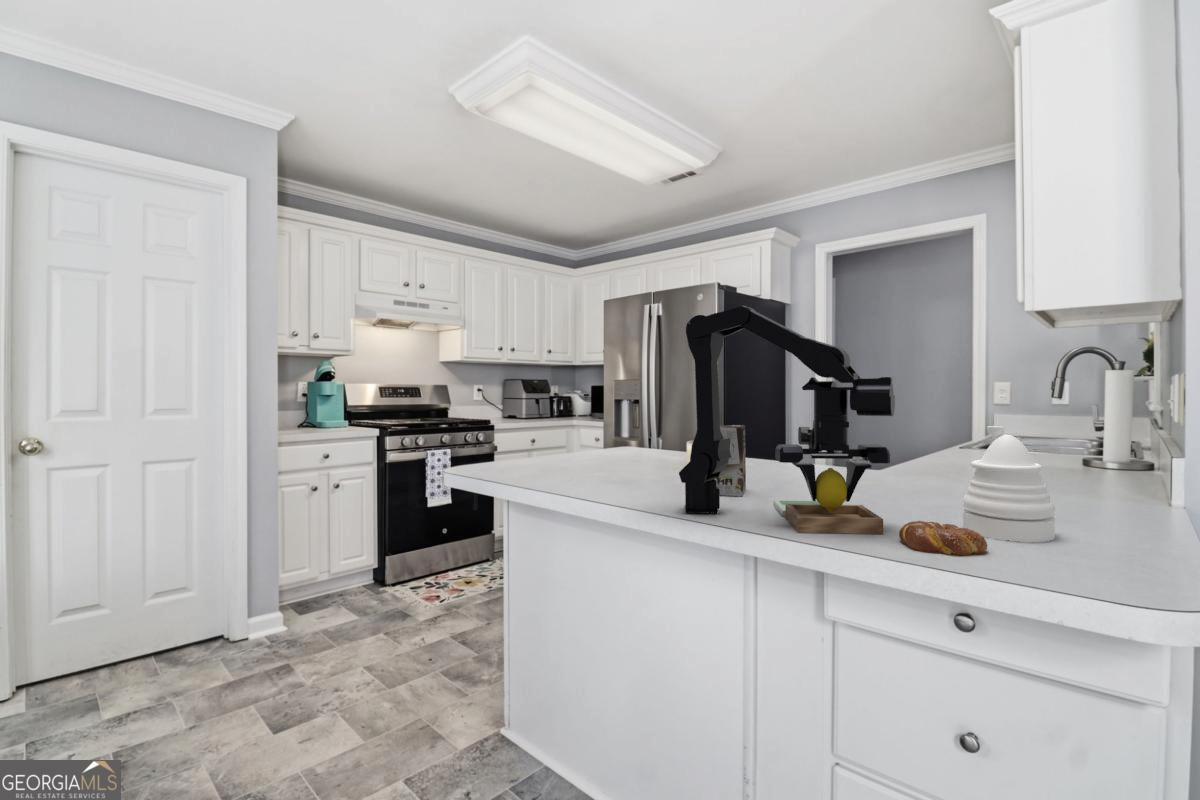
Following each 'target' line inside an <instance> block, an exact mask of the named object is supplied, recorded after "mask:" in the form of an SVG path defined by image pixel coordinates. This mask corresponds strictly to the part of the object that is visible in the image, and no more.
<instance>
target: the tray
mask: <svg viewBox="0 0 1200 800" xmlns="http://www.w3.org/2000/svg"><path fill="white" fill-rule="evenodd" d="M785 519H786V520H787V521H788V522H789V524H790V525H791V526H792V527H793V529H794V530H795V531H796V530H797V531H796V532H797V533H799V534H840V533H850V534H849V535H852V534H853V535H854V534H855V535H884V519H883V518H882V517H881V516H879V515H878V514H876V513H875V512H873V511H872V510H871V509H869V508H867V507H865V506H864V505H862V504H842V505H841V506H840V507H837V508H835V509H834V510H833V511H832V512H830V511H828V510H827V509H826V508H825V507H823V506H822V505H820V504H786V517H785Z"/></svg>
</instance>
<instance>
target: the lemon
mask: <svg viewBox="0 0 1200 800" xmlns="http://www.w3.org/2000/svg"><path fill="white" fill-rule="evenodd" d="M815 481H816V500H817V501H818V503H819V504H820V505H822V506H823V507H825V508H826V509H827V510H828V511H830V512H832V511H833V510H834V509H835V508H837V507H840V506H841V505H844V503H845V502H846V500H845V499H846V496H847V486H846V478H845V477H844V476H843V474H841V473H840V472H839V471H837V470H835V469H834V468H833V467H828V468H827V469H825V470H822V471H821V472H820V473H819V474H818V475H817V477H815Z"/></svg>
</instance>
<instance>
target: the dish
mask: <svg viewBox="0 0 1200 800" xmlns="http://www.w3.org/2000/svg"><path fill="white" fill-rule="evenodd" d="M772 501H773V502H772V503H773V505H774V506H773V507H774V508H775V510H776V511H777V510H778V511H777V512H778V513H779V514H780V515H782V516H781V517H782V518H786V504H819V503H818V501H817V500H816V501H813V500H812V499H811V500H810V499H773V500H772Z"/></svg>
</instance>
